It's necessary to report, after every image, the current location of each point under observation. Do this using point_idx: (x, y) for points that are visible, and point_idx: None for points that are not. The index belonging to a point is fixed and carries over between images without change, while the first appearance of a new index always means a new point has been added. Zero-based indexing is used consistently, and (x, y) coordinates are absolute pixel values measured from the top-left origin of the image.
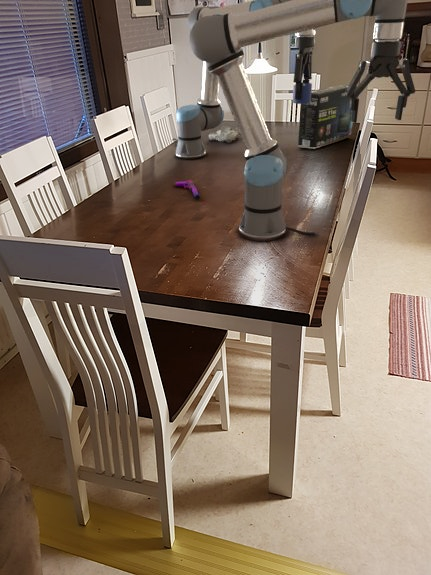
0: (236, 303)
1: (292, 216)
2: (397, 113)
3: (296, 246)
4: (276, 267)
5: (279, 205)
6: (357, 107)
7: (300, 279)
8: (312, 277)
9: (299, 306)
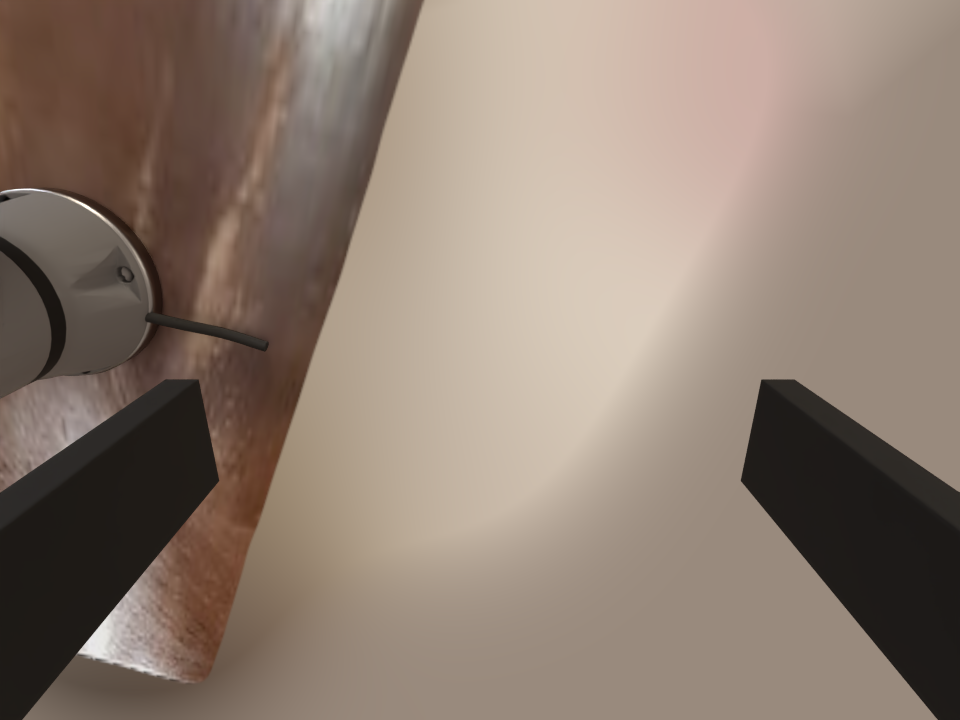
0: None
1: (194, 136)
2: (791, 463)
3: None
4: None
5: (43, 366)
6: (88, 621)
7: (200, 580)
8: (232, 576)
9: (192, 668)
